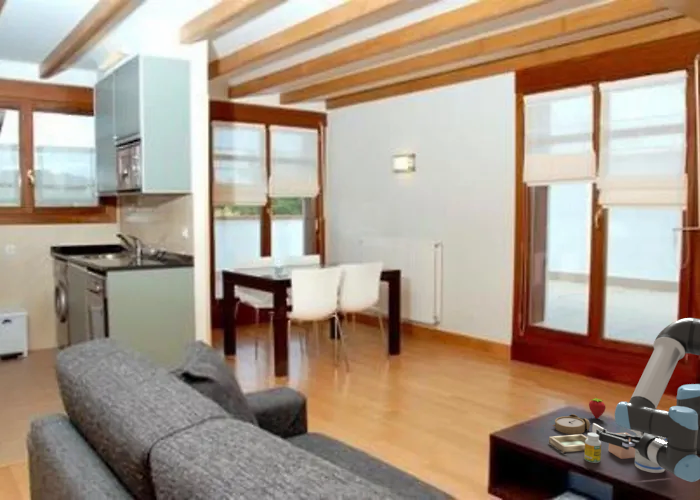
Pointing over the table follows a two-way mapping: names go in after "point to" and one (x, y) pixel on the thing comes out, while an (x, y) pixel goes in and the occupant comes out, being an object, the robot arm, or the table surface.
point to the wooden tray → (568, 442)
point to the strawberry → (597, 407)
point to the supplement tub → (647, 463)
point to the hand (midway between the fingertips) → (611, 426)
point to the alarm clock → (571, 424)
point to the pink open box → (622, 451)
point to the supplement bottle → (592, 448)
